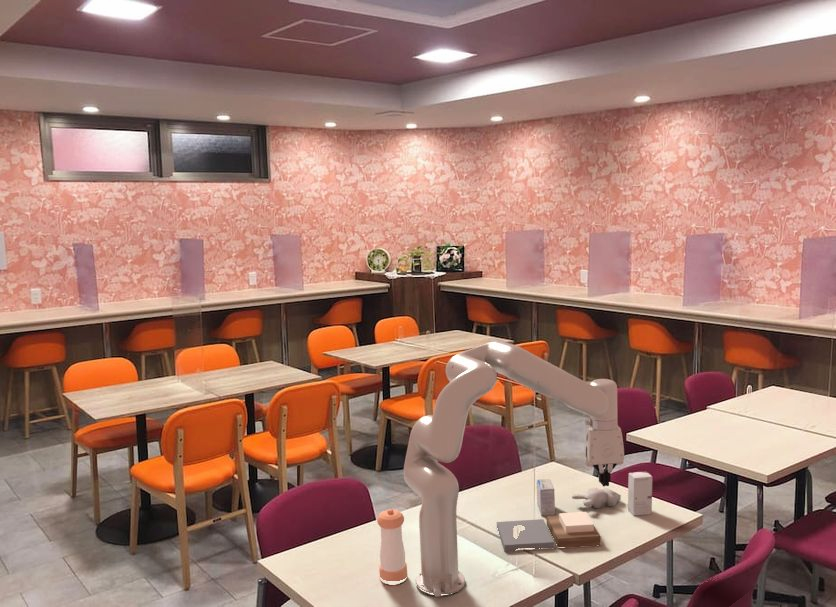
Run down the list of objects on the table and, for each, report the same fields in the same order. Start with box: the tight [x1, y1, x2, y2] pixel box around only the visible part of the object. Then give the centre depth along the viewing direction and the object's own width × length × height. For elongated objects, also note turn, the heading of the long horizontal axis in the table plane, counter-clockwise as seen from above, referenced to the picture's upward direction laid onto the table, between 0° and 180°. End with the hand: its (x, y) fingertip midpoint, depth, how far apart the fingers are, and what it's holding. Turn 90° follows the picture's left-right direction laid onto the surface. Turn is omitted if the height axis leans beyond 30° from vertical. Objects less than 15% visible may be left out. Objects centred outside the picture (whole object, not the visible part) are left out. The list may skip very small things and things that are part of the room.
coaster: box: [558, 511, 595, 533], centre depth 206 cm, size 8×8×2 cm
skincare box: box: [627, 471, 653, 516], centre depth 218 cm, size 6×4×12 cm
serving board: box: [546, 514, 601, 548], centre depth 206 cm, size 14×12×3 cm
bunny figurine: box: [571, 487, 622, 509], centre depth 225 cm, size 10×5×15 cm
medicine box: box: [536, 478, 556, 517], centre depth 222 cm, size 8×4×9 cm, turn 179°
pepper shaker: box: [376, 508, 408, 581], centre depth 186 cm, size 7×7×19 cm
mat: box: [496, 519, 555, 553], centre depth 206 cm, size 14×14×2 cm
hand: (604, 484), depth 204 cm, fingers closed
